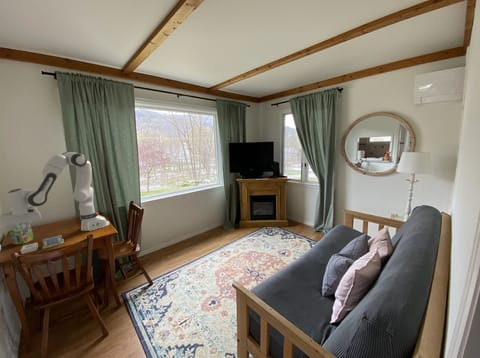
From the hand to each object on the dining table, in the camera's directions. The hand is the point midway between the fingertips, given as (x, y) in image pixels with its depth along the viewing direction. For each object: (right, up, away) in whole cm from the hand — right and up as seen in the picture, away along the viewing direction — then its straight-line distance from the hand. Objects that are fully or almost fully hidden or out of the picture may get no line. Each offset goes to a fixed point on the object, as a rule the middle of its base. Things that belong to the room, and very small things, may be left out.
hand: (24, 228), depth 153 cm
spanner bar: (+11, -14, +11) cm, 21 cm away
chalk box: (-18, -15, +17) cm, 29 cm away
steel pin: (0, -3, +1) cm, 3 cm away
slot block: (+1, -17, +4) cm, 18 cm away
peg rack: (+12, -15, +11) cm, 22 cm away
